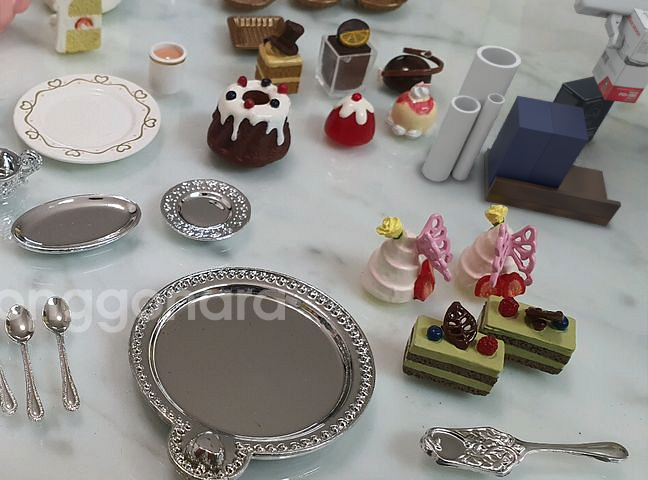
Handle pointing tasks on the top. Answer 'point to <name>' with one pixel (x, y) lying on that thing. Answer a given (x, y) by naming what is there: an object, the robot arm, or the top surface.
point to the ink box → (625, 61)
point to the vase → (471, 114)
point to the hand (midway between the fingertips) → (636, 52)
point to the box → (585, 102)
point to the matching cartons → (538, 142)
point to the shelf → (557, 195)
